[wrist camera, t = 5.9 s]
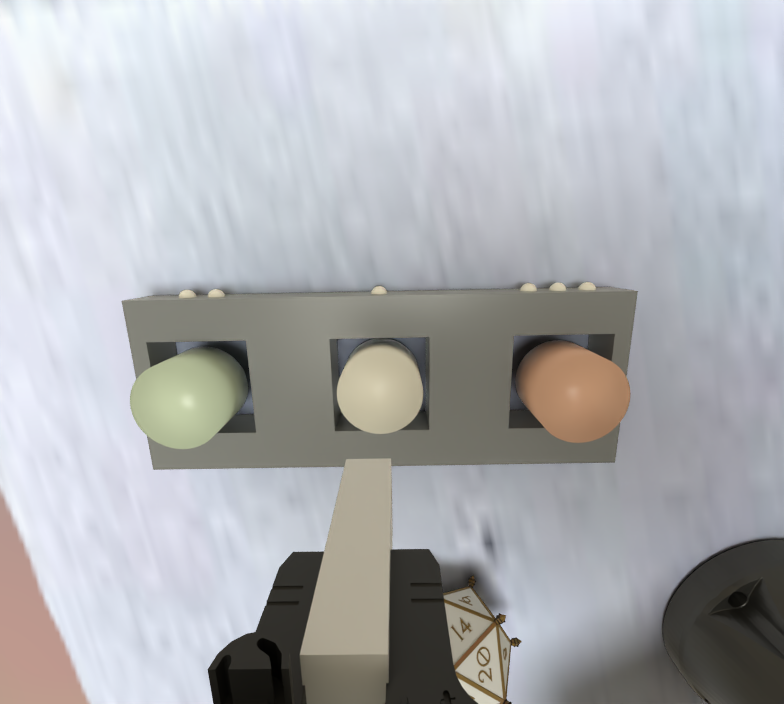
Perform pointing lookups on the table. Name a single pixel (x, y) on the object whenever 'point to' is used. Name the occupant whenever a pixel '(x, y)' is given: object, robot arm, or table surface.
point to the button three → (572, 391)
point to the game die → (478, 646)
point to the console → (382, 320)
